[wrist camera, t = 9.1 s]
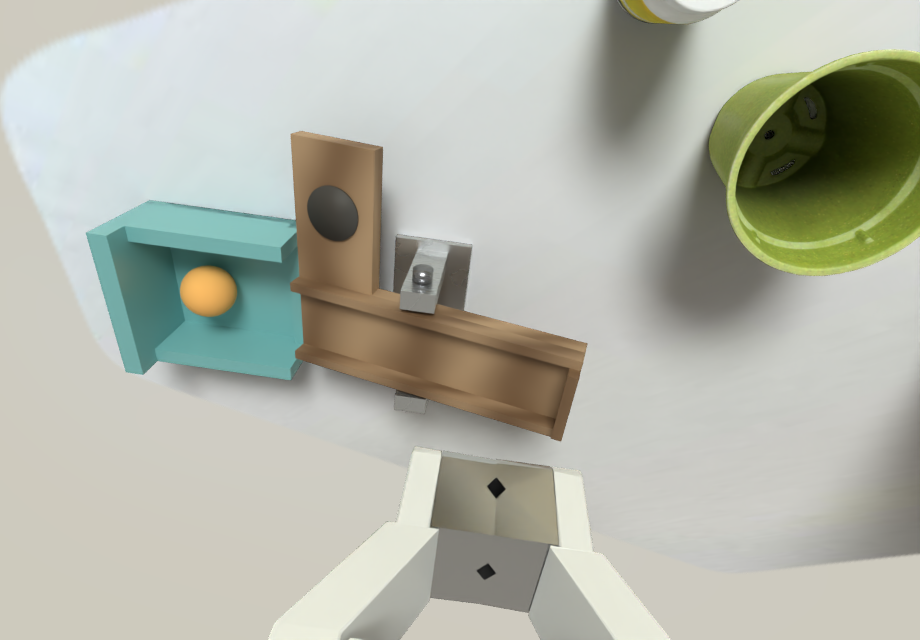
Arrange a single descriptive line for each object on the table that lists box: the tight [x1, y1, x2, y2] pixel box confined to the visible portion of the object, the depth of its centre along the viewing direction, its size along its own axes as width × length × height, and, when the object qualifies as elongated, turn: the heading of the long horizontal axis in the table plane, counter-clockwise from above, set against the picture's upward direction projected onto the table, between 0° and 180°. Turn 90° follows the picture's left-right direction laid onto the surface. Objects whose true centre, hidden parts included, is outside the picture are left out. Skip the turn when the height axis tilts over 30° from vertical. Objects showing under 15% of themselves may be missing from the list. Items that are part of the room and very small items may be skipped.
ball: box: [180, 265, 237, 317], centre depth 35 cm, size 4×4×4 cm
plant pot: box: [709, 49, 920, 276], centre depth 25 cm, size 9×9×9 cm
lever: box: [290, 131, 587, 441], centre depth 29 cm, size 18×14×3 cm
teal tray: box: [86, 200, 303, 380], centre depth 34 cm, size 11×10×6 cm
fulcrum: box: [393, 234, 472, 414], centre depth 34 cm, size 5×10×6 cm, turn 174°
